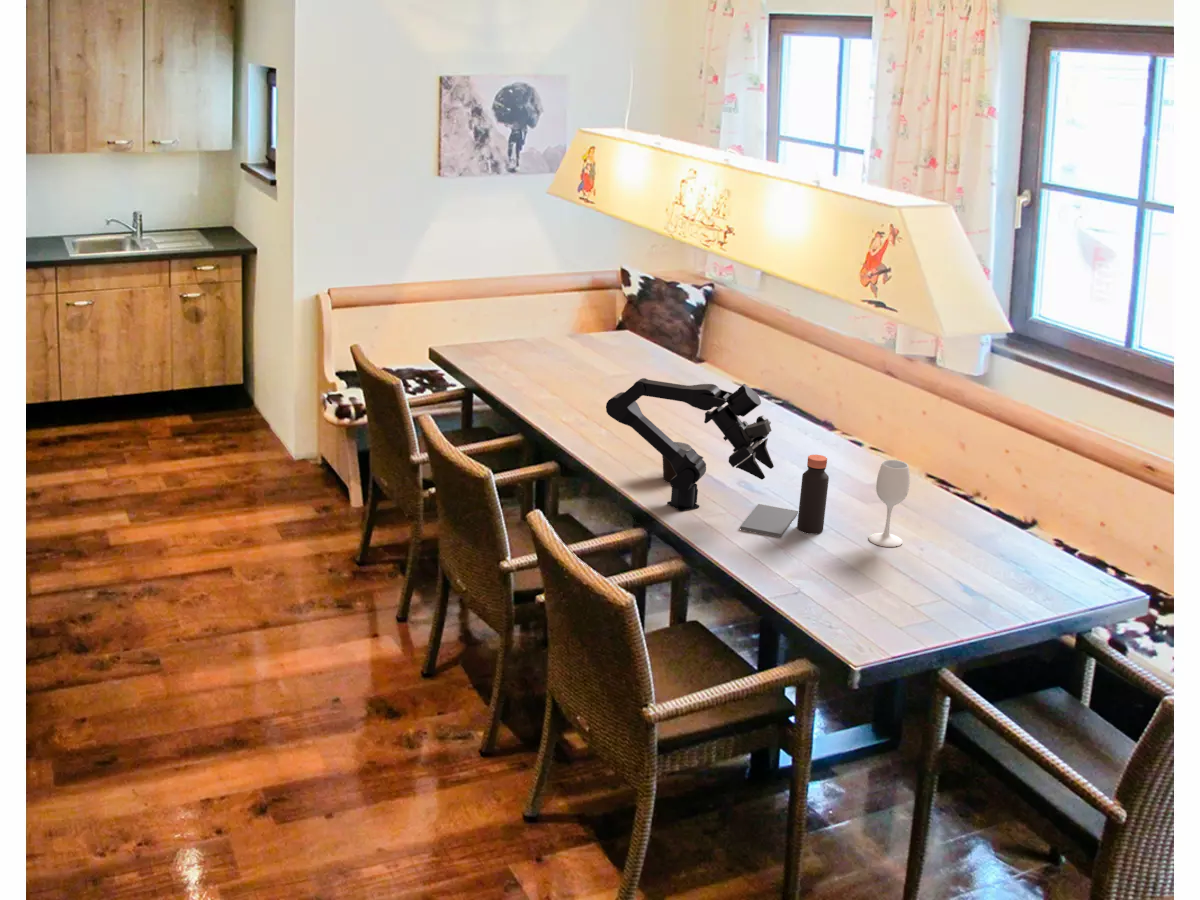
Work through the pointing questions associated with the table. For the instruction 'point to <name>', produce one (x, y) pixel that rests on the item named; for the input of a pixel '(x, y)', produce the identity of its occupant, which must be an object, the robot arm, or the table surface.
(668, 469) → the coffee mug
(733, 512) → the table surface
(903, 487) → the wineglass
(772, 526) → the gray board
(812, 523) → the vinegar
